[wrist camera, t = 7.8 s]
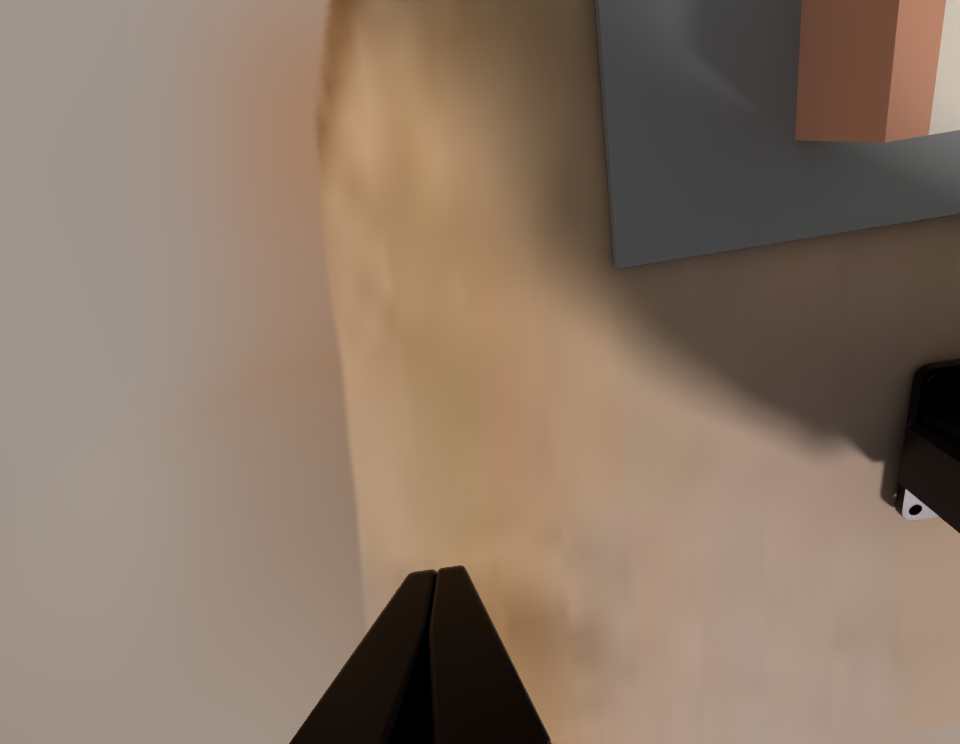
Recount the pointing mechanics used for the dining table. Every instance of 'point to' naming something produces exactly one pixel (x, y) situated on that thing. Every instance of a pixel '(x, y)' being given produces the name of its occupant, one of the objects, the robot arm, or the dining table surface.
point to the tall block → (878, 70)
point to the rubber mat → (738, 138)
